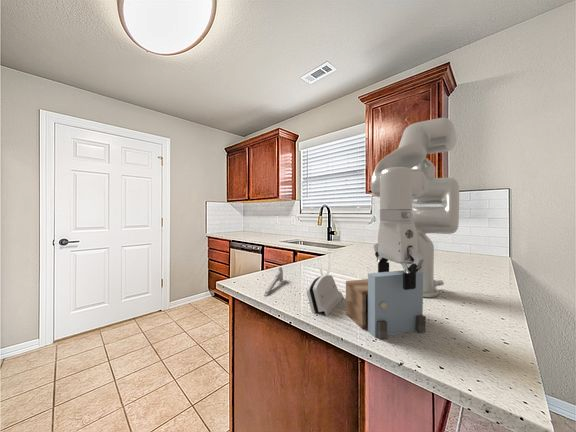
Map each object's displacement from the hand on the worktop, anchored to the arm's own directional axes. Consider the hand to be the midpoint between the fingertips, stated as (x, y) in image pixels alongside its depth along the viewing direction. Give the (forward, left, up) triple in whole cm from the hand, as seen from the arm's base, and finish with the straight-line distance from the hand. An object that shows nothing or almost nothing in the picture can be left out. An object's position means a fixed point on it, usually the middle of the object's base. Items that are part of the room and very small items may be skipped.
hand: (395, 282), depth 62 cm
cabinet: (0, -4, -12) cm, 13 cm away
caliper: (+24, -41, -13) cm, 49 cm away
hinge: (+11, -20, -13) cm, 26 cm away
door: (0, +1, -12) cm, 12 cm away
